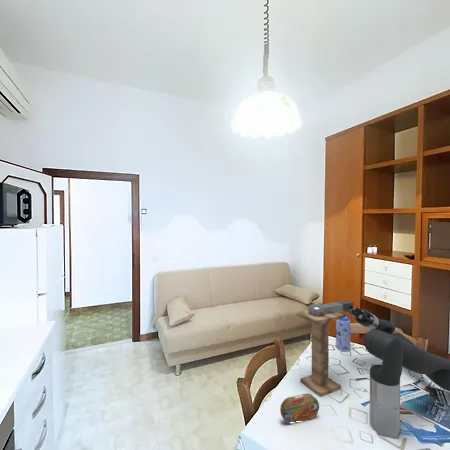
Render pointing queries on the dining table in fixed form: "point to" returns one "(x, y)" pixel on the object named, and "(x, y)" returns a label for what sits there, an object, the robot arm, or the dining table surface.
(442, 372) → the robot arm
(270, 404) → the dining table surface
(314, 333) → the walnut stand
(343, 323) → the aerosol can
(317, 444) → the dining table surface
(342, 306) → the ratchet
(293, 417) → the tin
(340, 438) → the dining table surface
